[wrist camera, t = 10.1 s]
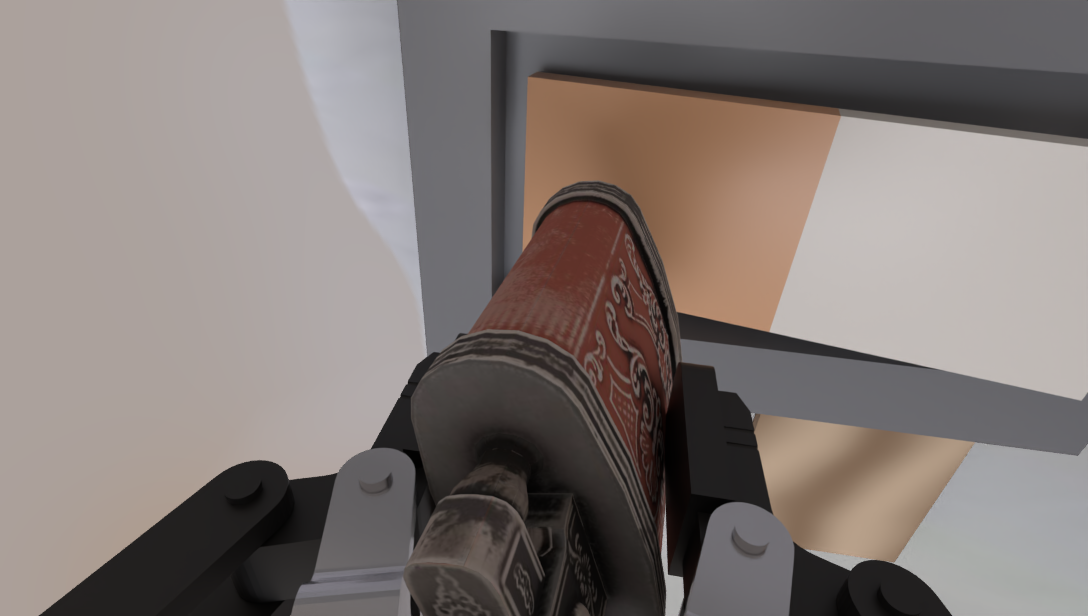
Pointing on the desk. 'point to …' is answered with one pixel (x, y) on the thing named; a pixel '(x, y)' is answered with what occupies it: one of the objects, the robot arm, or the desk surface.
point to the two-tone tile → (841, 221)
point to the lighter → (554, 427)
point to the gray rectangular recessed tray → (748, 71)
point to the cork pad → (852, 483)
